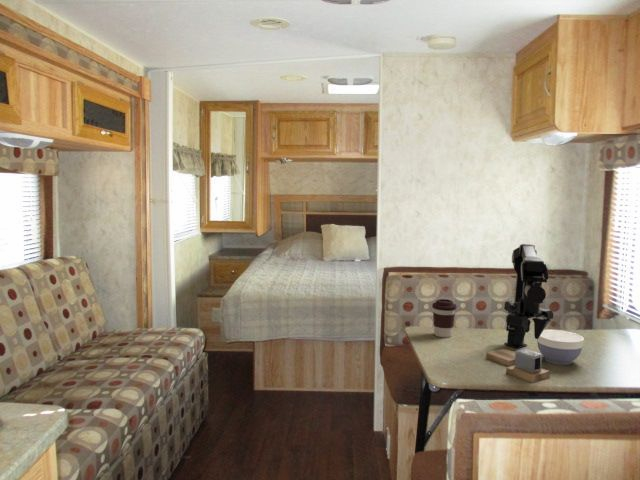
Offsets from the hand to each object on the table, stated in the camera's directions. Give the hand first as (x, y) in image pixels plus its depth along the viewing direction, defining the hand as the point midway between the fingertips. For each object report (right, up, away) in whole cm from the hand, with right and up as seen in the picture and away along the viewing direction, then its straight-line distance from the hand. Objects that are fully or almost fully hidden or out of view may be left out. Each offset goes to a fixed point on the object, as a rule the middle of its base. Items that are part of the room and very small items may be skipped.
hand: (528, 340), depth 190 cm
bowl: (+17, -10, +16) cm, 25 cm away
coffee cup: (-19, -6, +45) cm, 49 cm away
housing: (0, -10, 0) cm, 10 cm away
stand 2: (0, -12, 0) cm, 12 cm away
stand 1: (-2, -10, +16) cm, 19 cm away
